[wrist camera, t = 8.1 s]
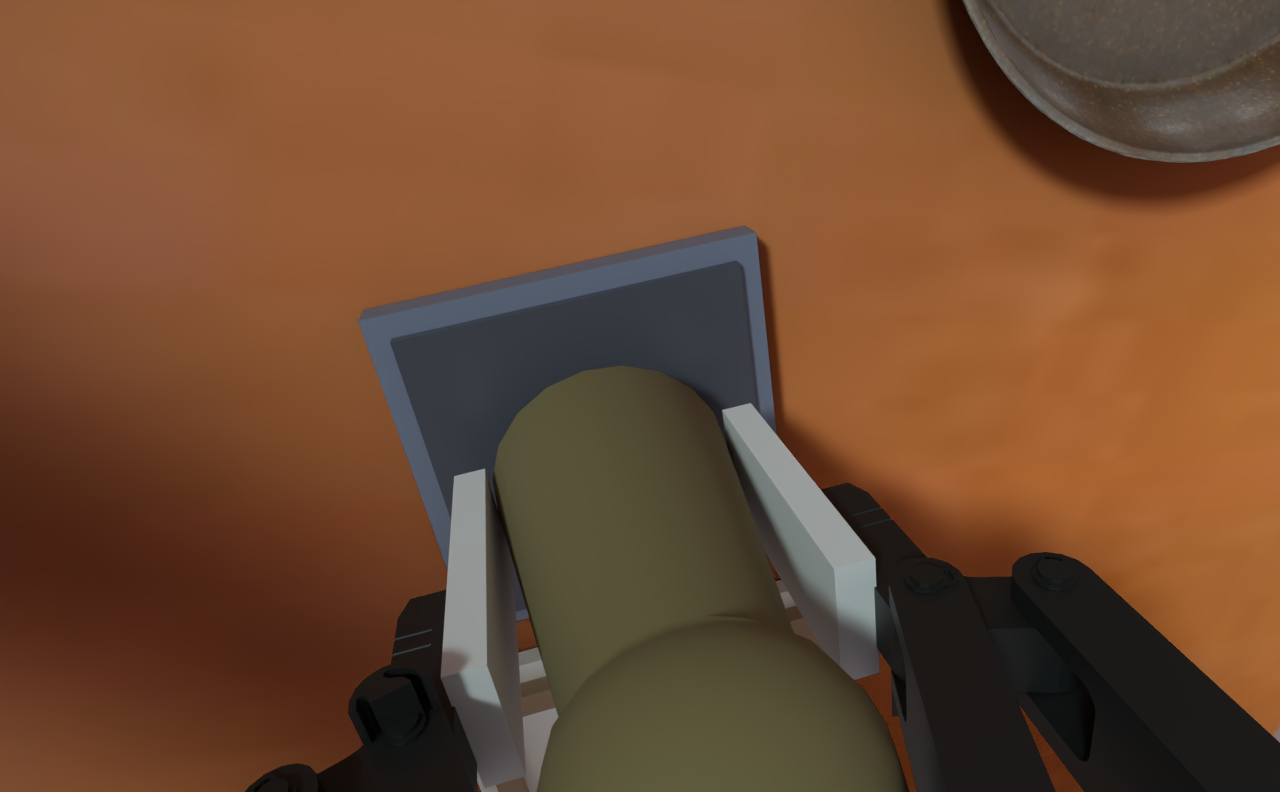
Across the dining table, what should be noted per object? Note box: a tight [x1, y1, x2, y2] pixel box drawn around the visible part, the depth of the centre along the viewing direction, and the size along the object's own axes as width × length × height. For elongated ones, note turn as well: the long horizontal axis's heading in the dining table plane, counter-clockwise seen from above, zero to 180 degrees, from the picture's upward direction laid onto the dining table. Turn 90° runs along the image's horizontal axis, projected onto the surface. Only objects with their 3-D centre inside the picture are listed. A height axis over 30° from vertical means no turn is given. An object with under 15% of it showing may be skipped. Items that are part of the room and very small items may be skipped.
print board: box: [477, 580, 821, 792], centre depth 26 cm, size 13×13×1 cm
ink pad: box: [358, 226, 777, 621], centre depth 20 cm, size 10×10×1 cm
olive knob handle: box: [492, 366, 909, 792], centre depth 14 cm, size 6×6×11 cm
